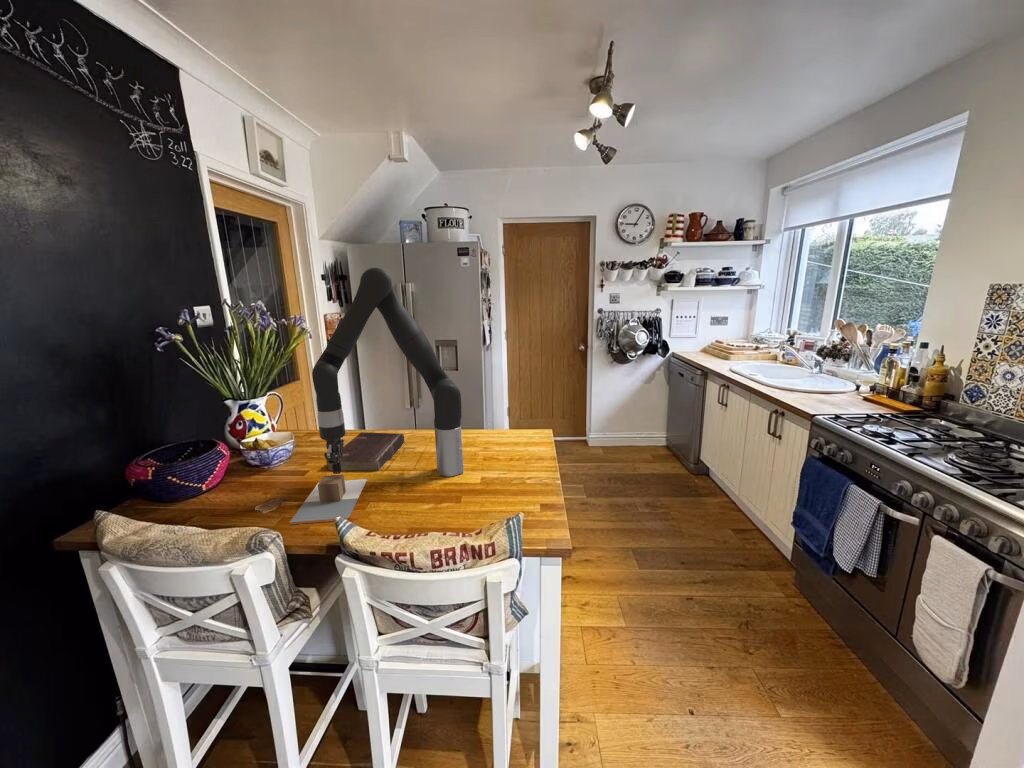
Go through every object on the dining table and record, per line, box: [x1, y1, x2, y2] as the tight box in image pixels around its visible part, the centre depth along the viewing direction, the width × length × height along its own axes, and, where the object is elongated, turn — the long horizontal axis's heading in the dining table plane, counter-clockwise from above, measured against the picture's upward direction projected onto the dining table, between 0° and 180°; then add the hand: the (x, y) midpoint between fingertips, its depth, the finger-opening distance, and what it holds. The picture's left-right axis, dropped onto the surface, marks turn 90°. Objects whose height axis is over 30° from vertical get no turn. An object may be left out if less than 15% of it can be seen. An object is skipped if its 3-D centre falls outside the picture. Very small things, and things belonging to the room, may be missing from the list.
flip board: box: [289, 478, 368, 526], centre depth 127 cm, size 16×24×1 cm, turn 7°
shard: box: [254, 497, 286, 514], centre depth 125 cm, size 11×8×2 cm
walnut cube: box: [317, 474, 346, 503], centre depth 127 cm, size 6×6×6 cm
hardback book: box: [326, 432, 405, 472], centre depth 160 cm, size 29×19×5 cm, turn 176°
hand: (337, 472), depth 133 cm, fingers closed
